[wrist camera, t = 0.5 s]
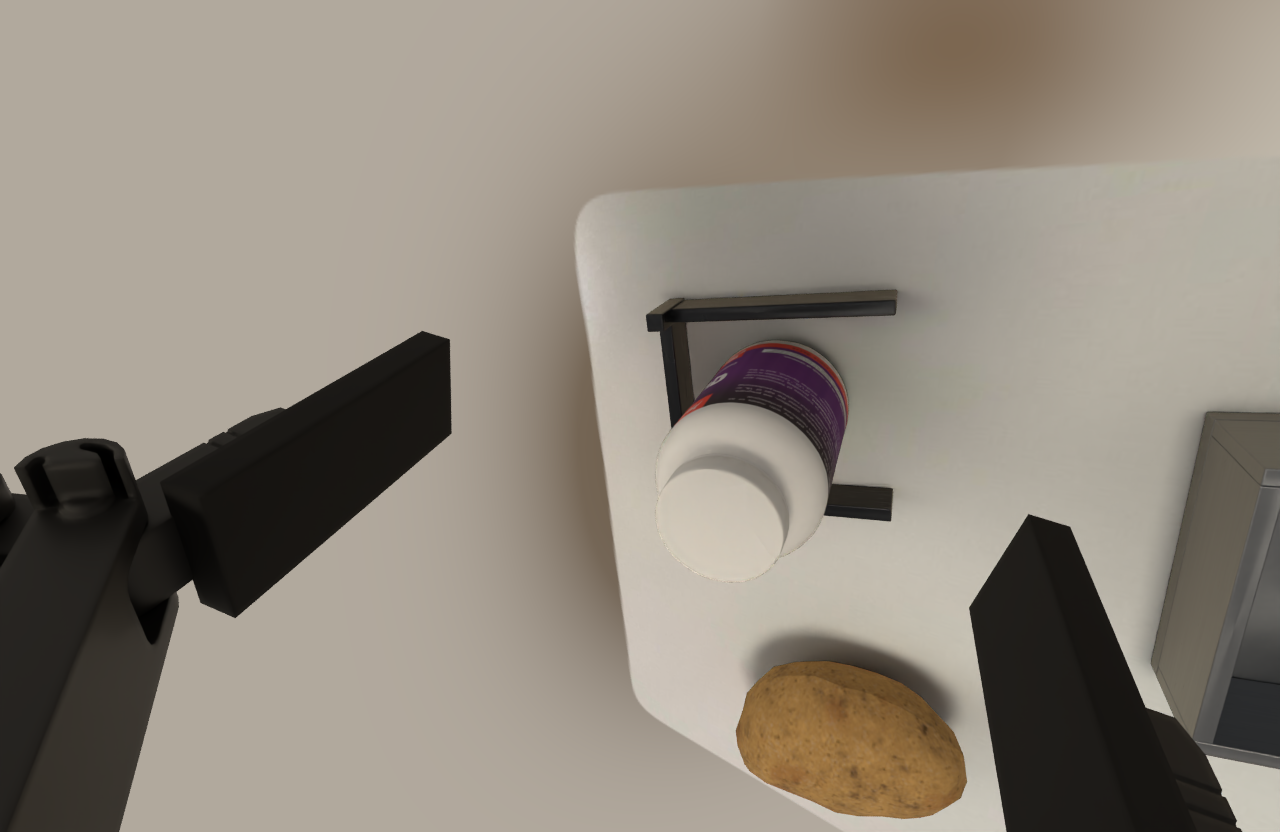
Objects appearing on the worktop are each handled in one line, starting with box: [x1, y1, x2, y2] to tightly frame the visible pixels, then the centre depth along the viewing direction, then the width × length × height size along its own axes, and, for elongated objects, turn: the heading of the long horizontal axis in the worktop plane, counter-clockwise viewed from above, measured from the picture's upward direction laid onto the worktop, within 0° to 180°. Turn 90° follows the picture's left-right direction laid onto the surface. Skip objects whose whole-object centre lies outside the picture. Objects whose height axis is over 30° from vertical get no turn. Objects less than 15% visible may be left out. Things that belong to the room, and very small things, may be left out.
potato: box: [736, 661, 967, 819], centre depth 41 cm, size 10×14×8 cm
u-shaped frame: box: [646, 290, 897, 521], centre depth 36 cm, size 13×13×4 cm
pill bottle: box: [655, 340, 849, 583], centre depth 32 cm, size 8×8×14 cm
